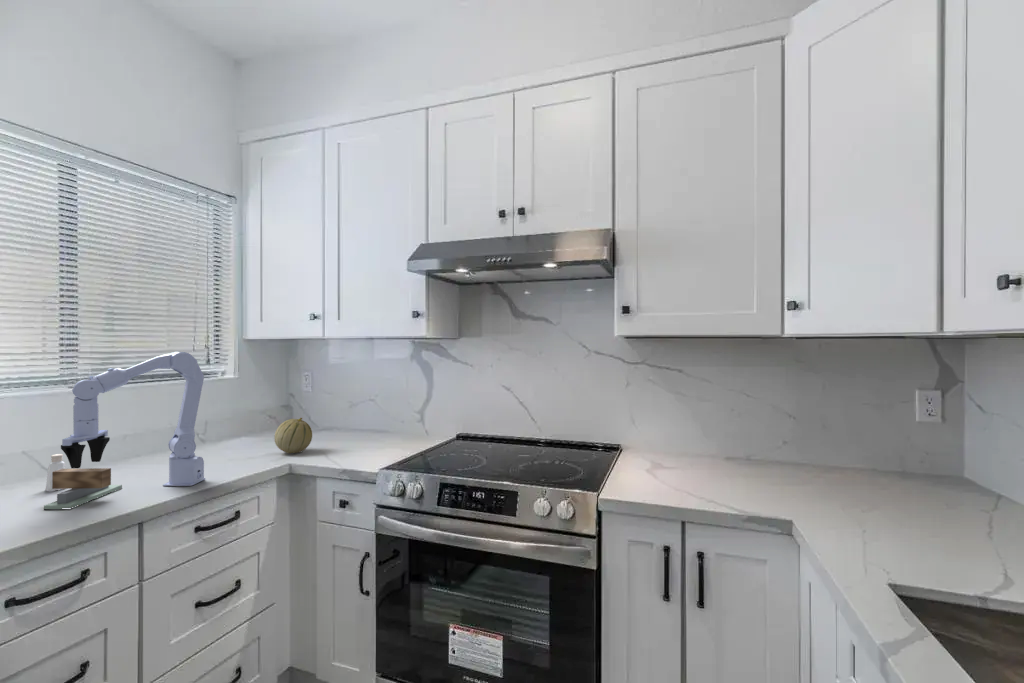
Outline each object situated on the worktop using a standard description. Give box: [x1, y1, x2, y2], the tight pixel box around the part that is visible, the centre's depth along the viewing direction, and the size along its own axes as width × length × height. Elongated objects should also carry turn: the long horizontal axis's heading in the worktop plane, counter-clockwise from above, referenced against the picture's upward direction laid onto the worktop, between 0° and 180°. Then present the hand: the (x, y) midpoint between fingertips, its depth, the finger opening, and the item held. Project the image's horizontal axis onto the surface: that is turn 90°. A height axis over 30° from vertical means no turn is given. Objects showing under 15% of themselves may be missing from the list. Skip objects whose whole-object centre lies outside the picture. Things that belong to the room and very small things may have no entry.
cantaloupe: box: [273, 417, 313, 454], centre depth 211 cm, size 15×15×15 cm
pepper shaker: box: [44, 453, 67, 492], centre depth 159 cm, size 5×5×11 cm
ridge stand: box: [43, 484, 123, 510], centre depth 149 cm, size 7×20×4 cm, turn 3°
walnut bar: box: [52, 467, 112, 490], centre depth 148 cm, size 14×4×5 cm, turn 93°
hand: (86, 464), depth 149 cm, fingers open, 7 cm apart
